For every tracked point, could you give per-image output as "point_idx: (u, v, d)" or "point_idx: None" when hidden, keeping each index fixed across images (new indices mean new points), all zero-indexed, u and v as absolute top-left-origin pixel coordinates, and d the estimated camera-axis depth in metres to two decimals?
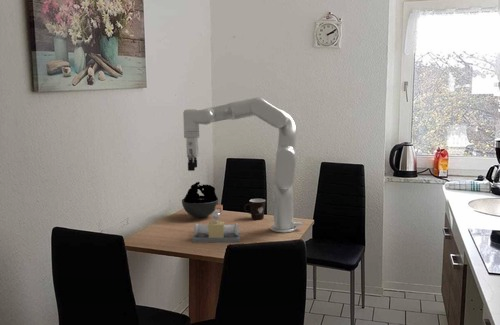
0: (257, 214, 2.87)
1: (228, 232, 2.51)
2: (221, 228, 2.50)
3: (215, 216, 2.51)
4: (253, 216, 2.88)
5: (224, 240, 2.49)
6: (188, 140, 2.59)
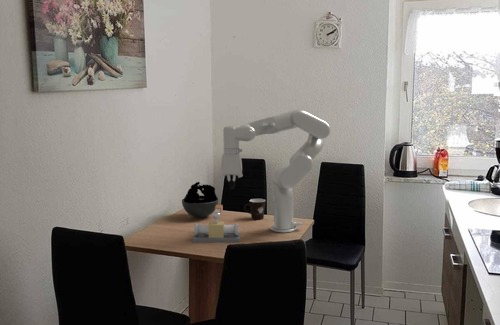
0: (257, 214, 2.87)
1: (228, 232, 2.51)
2: (221, 228, 2.50)
3: (215, 216, 2.51)
4: (253, 216, 2.88)
5: (224, 240, 2.49)
6: (240, 156, 2.58)
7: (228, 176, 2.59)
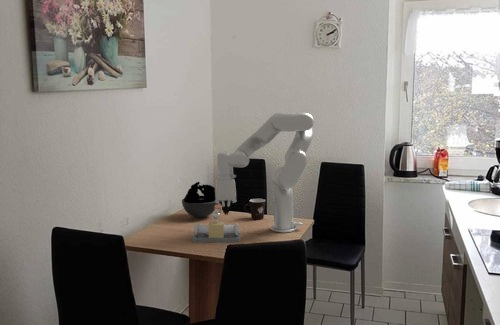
0: (257, 214, 2.87)
1: (228, 232, 2.51)
2: (221, 228, 2.50)
3: (215, 216, 2.51)
4: (253, 216, 2.88)
5: (224, 240, 2.49)
6: (234, 182, 2.61)
7: (223, 202, 2.61)
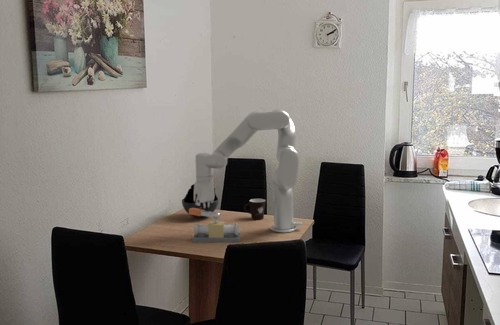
0: (257, 214, 2.87)
1: (228, 232, 2.51)
2: (221, 228, 2.50)
3: (218, 216, 2.51)
4: (253, 216, 2.88)
5: (224, 240, 2.49)
6: None
7: (204, 203, 2.59)
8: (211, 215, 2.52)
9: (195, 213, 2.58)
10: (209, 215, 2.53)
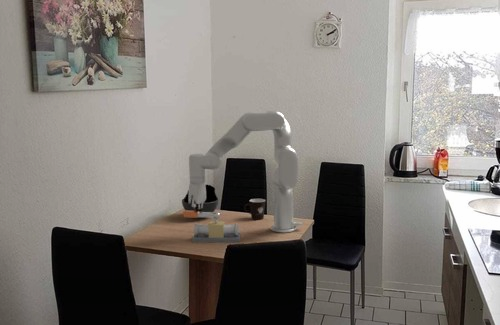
0: (257, 214, 2.87)
1: (228, 232, 2.51)
2: (221, 228, 2.50)
3: (219, 215, 2.52)
4: (253, 216, 2.88)
5: (224, 240, 2.49)
6: None
7: (199, 205, 2.56)
8: (211, 215, 2.52)
9: (191, 215, 2.54)
10: (209, 216, 2.52)
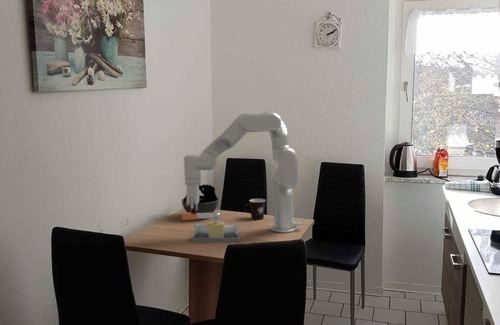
0: (257, 214, 2.87)
1: (228, 232, 2.51)
2: (221, 228, 2.50)
3: (219, 215, 2.52)
4: (253, 216, 2.88)
5: (224, 240, 2.49)
6: None
7: (196, 206, 2.54)
8: (212, 216, 2.51)
9: (191, 217, 2.50)
10: (209, 216, 2.51)
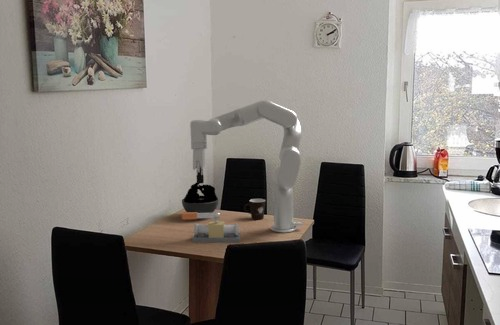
0: (257, 214, 2.87)
1: (228, 232, 2.51)
2: (221, 228, 2.50)
3: (219, 215, 2.52)
4: (253, 216, 2.88)
5: (224, 240, 2.49)
6: None
7: (202, 170, 2.58)
8: (212, 216, 2.51)
9: (191, 217, 2.51)
10: (209, 216, 2.51)
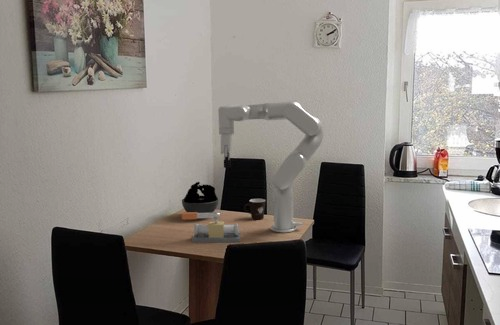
0: (257, 214, 2.87)
1: (228, 232, 2.51)
2: (221, 228, 2.50)
3: (219, 215, 2.52)
4: (253, 216, 2.88)
5: (224, 240, 2.49)
6: None
7: (229, 155, 2.67)
8: (212, 216, 2.51)
9: (191, 217, 2.51)
10: (209, 216, 2.51)
